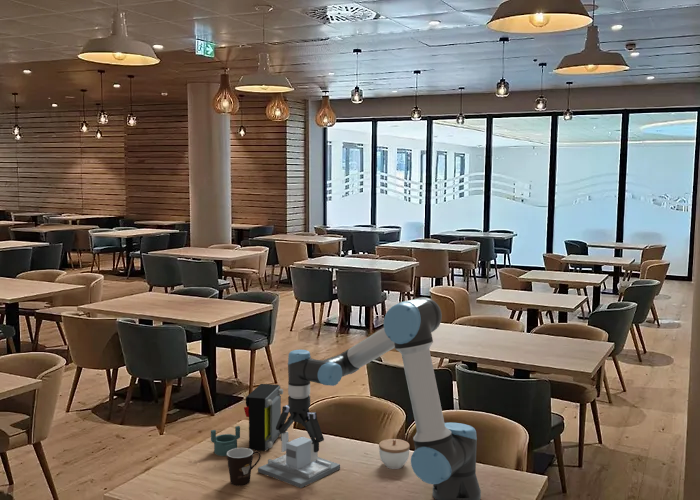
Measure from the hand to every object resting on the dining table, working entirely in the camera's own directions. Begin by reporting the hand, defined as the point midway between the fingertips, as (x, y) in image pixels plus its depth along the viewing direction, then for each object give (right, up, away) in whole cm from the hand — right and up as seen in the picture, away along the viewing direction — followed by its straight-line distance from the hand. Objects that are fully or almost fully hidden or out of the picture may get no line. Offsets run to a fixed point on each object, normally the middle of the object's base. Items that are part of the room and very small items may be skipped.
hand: (299, 455), depth 238 cm
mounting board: (0, -5, 0) cm, 5 cm away
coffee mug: (-17, -6, -9) cm, 20 cm away
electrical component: (-15, -3, +26) cm, 31 cm away
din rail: (0, -4, 0) cm, 4 cm away
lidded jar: (+33, -5, +5) cm, 34 cm away
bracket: (-28, -4, +16) cm, 33 cm away
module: (0, -3, 0) cm, 3 cm away
